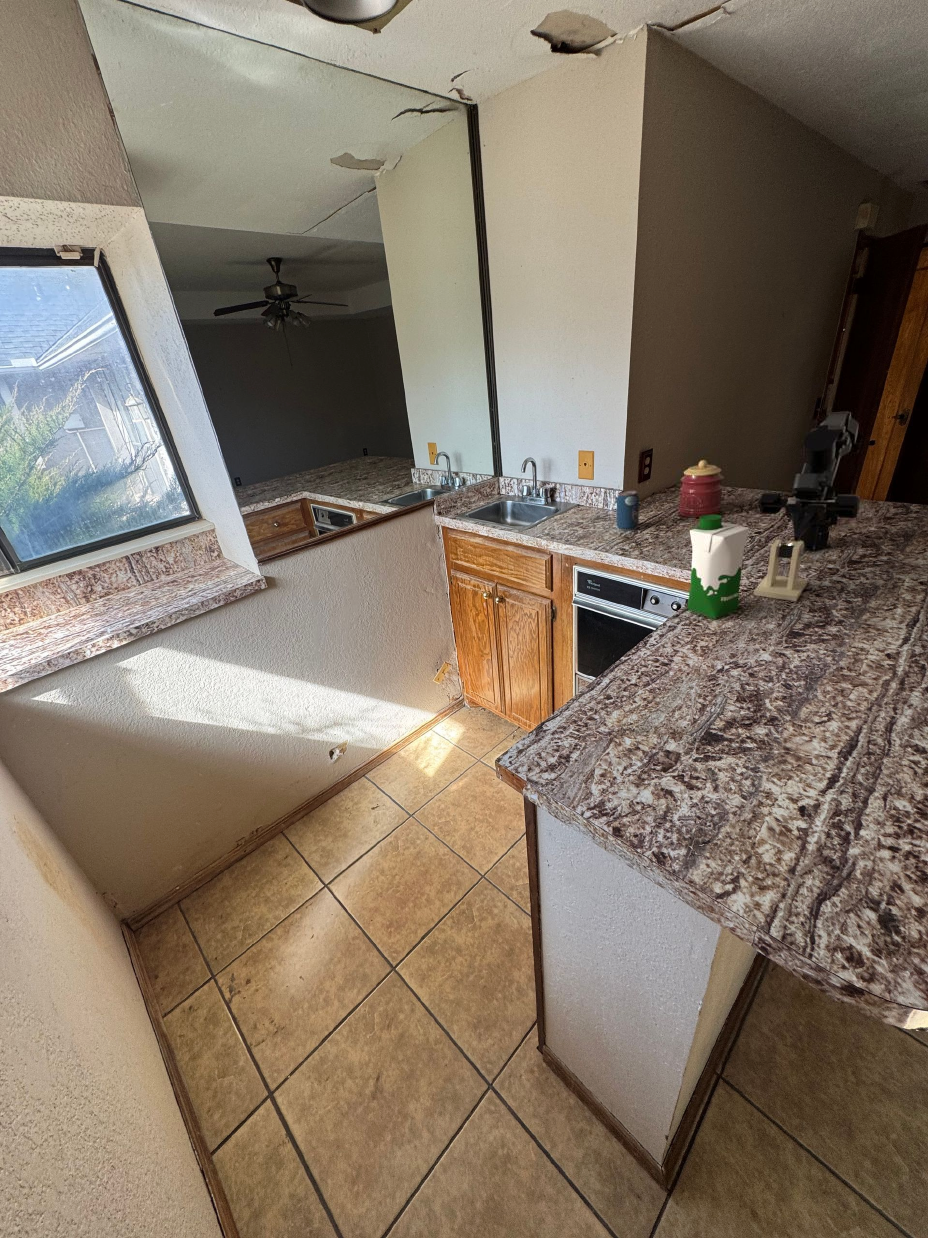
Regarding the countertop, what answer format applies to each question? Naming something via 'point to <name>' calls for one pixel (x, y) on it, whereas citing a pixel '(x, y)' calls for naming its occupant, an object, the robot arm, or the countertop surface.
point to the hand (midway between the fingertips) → (796, 537)
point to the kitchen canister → (701, 490)
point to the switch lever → (788, 548)
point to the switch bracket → (782, 585)
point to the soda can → (627, 510)
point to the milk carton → (716, 566)
